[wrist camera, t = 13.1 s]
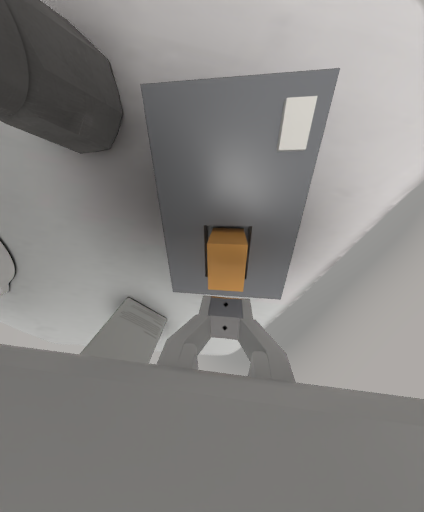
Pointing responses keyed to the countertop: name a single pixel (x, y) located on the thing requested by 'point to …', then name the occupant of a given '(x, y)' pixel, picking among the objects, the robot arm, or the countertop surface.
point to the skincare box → (128, 334)
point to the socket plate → (236, 168)
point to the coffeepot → (55, 79)
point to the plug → (227, 259)
